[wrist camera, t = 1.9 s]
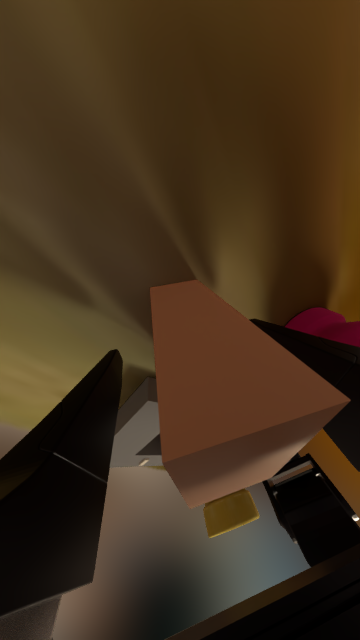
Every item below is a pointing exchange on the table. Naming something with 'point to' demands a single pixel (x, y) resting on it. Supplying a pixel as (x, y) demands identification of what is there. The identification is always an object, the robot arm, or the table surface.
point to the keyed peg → (228, 395)
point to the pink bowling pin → (326, 326)
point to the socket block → (138, 429)
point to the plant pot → (229, 512)
